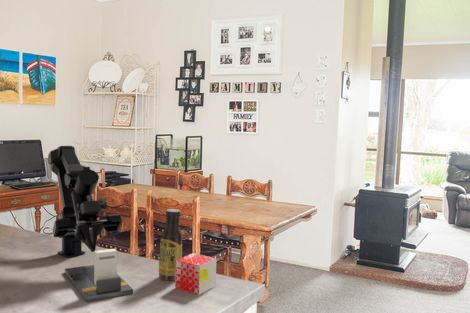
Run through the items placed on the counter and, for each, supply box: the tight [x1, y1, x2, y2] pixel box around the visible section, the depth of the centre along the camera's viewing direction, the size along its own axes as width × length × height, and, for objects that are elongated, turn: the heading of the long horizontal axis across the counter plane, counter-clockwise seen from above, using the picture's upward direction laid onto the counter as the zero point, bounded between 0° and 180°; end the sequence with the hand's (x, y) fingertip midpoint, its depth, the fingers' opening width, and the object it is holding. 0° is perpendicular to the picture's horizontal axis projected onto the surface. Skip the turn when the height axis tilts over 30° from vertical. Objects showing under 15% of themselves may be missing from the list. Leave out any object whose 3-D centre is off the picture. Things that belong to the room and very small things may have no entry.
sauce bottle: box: [158, 208, 183, 282], centre depth 135 cm, size 6×6×20 cm
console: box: [64, 264, 134, 303], centre depth 130 cm, size 24×12×4 cm, turn 32°
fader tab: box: [93, 248, 118, 285], centre depth 123 cm, size 3×5×9 cm, turn 122°
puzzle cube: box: [174, 252, 217, 295], centre depth 129 cm, size 8×8×8 cm
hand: (93, 251), depth 133 cm, fingers closed
